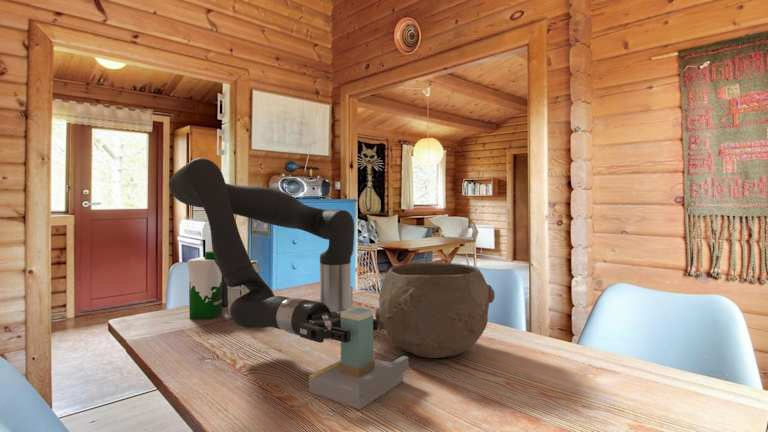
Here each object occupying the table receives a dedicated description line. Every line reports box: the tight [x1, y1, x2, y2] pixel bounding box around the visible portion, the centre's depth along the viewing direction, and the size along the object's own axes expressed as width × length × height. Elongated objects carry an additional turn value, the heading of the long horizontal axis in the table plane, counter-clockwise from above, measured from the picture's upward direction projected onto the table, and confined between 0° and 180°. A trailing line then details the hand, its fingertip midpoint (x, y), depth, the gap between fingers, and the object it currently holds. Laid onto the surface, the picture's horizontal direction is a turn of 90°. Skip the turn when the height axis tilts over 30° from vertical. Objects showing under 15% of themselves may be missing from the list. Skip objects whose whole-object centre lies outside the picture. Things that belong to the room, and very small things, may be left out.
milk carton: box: [187, 250, 223, 320], centre depth 130 cm, size 9×9×20 cm
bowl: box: [374, 262, 496, 359], centre depth 99 cm, size 27×29×20 cm
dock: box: [308, 355, 409, 410], centre depth 80 cm, size 14×13×5 cm
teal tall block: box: [339, 306, 375, 378], centre depth 80 cm, size 5×5×12 cm
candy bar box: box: [227, 260, 259, 319], centre depth 132 cm, size 11×5×16 cm, turn 168°
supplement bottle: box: [222, 276, 228, 308], centre depth 143 cm, size 7×7×12 cm
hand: (363, 330), depth 79 cm, fingers open, 8 cm apart
